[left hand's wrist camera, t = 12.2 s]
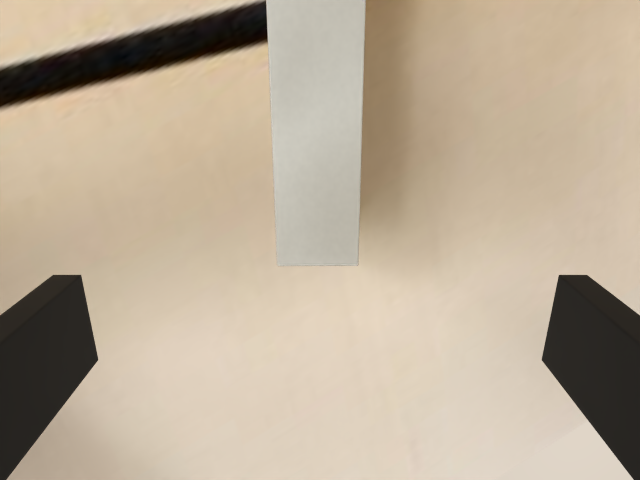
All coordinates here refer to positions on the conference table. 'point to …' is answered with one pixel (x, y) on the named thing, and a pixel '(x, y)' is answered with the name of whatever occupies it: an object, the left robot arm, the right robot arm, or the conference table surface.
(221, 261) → the conference table surface
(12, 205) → the conference table surface
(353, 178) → the bar
